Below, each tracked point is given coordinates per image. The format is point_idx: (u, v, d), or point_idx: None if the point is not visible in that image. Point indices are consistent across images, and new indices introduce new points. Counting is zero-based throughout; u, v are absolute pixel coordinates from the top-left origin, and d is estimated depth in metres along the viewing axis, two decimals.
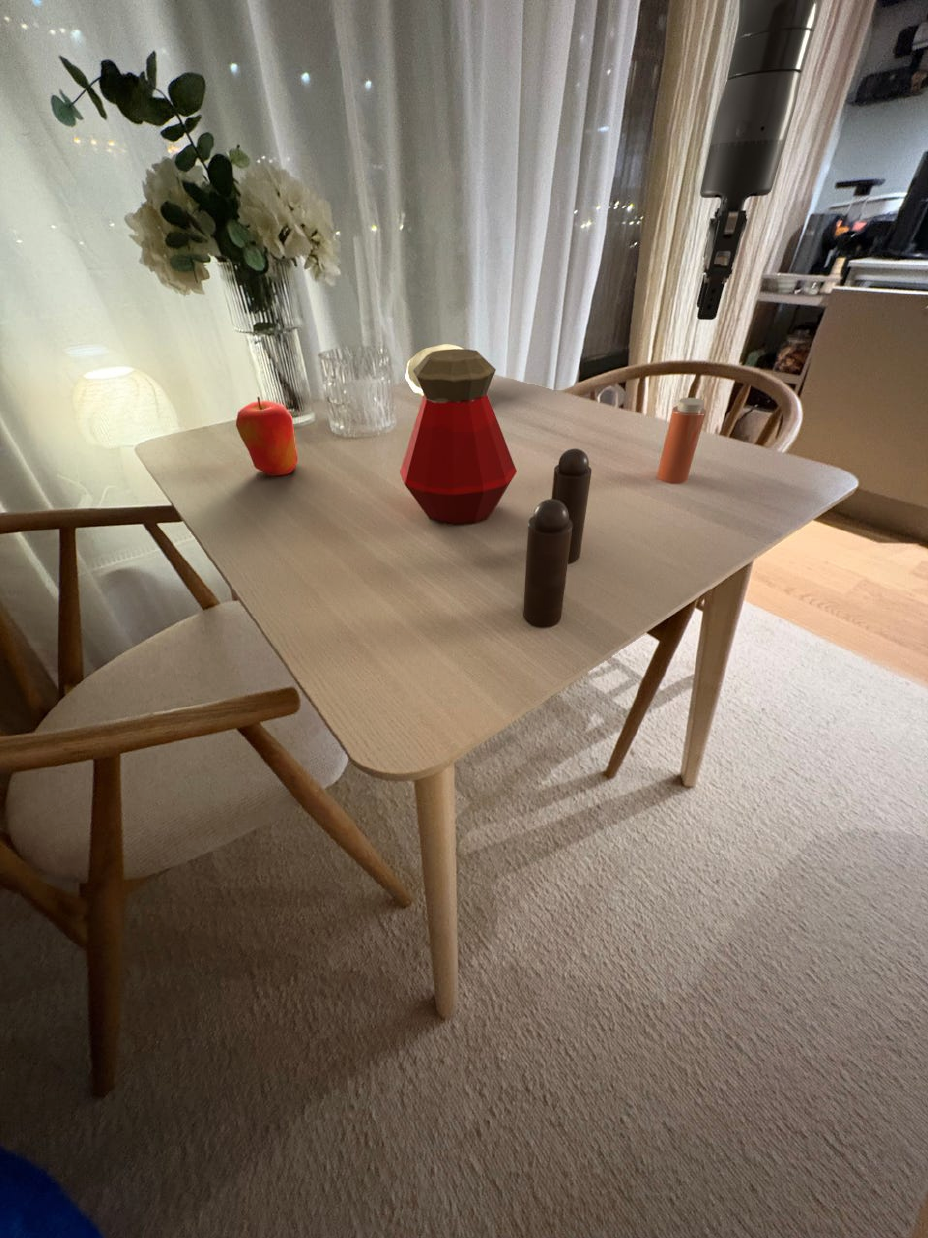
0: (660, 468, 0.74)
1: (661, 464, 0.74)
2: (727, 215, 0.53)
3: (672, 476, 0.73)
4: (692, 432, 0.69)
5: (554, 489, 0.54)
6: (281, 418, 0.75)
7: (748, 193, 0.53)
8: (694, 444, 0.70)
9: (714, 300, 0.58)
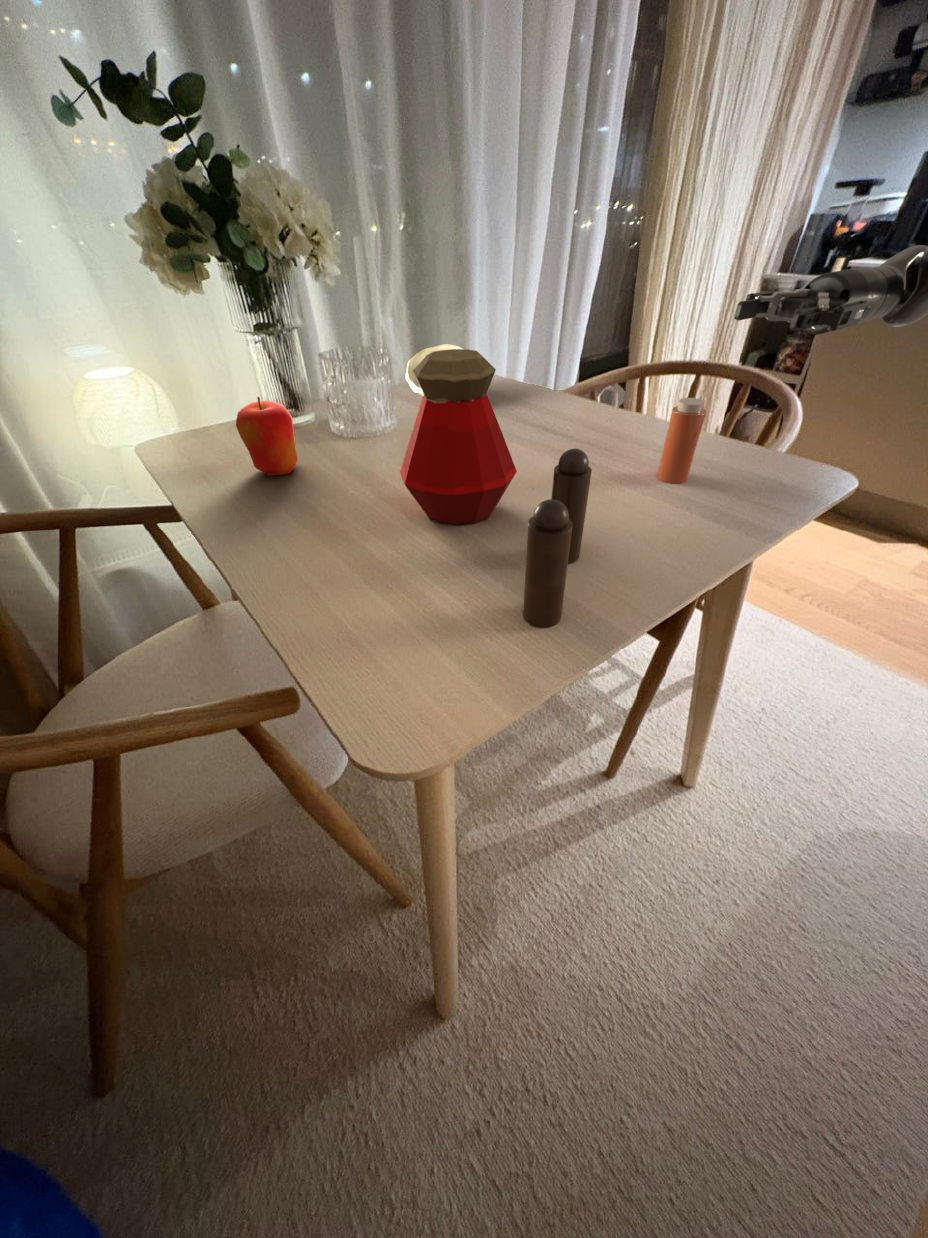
0: (660, 468, 0.74)
1: (661, 464, 0.74)
2: None
3: (672, 476, 0.73)
4: (692, 432, 0.69)
5: (554, 489, 0.54)
6: (281, 418, 0.75)
7: None
8: (694, 444, 0.70)
9: None
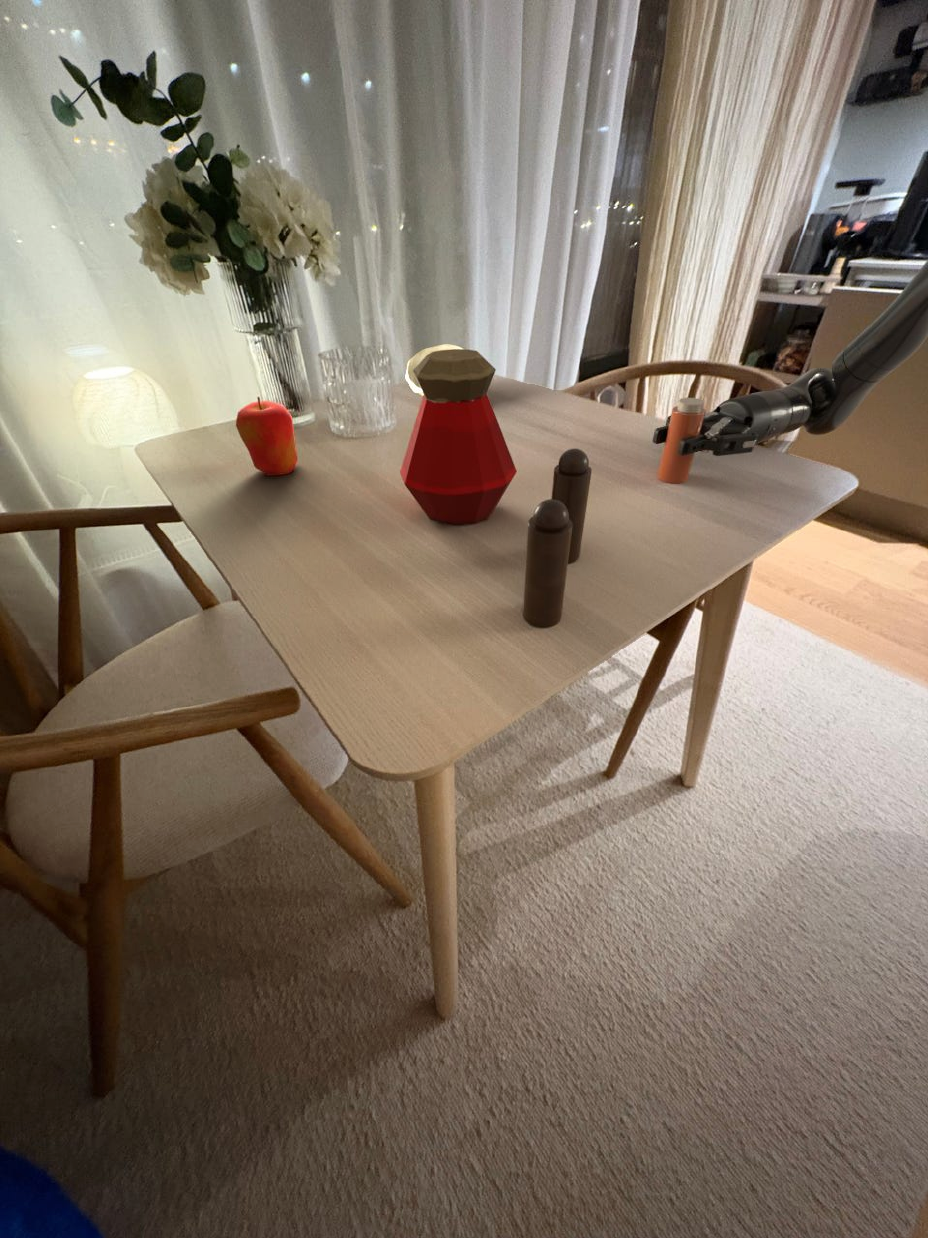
0: (660, 468, 0.74)
1: (661, 464, 0.74)
2: None
3: (673, 476, 0.73)
4: (691, 432, 0.69)
5: (554, 489, 0.54)
6: (281, 418, 0.75)
7: None
8: None
9: None
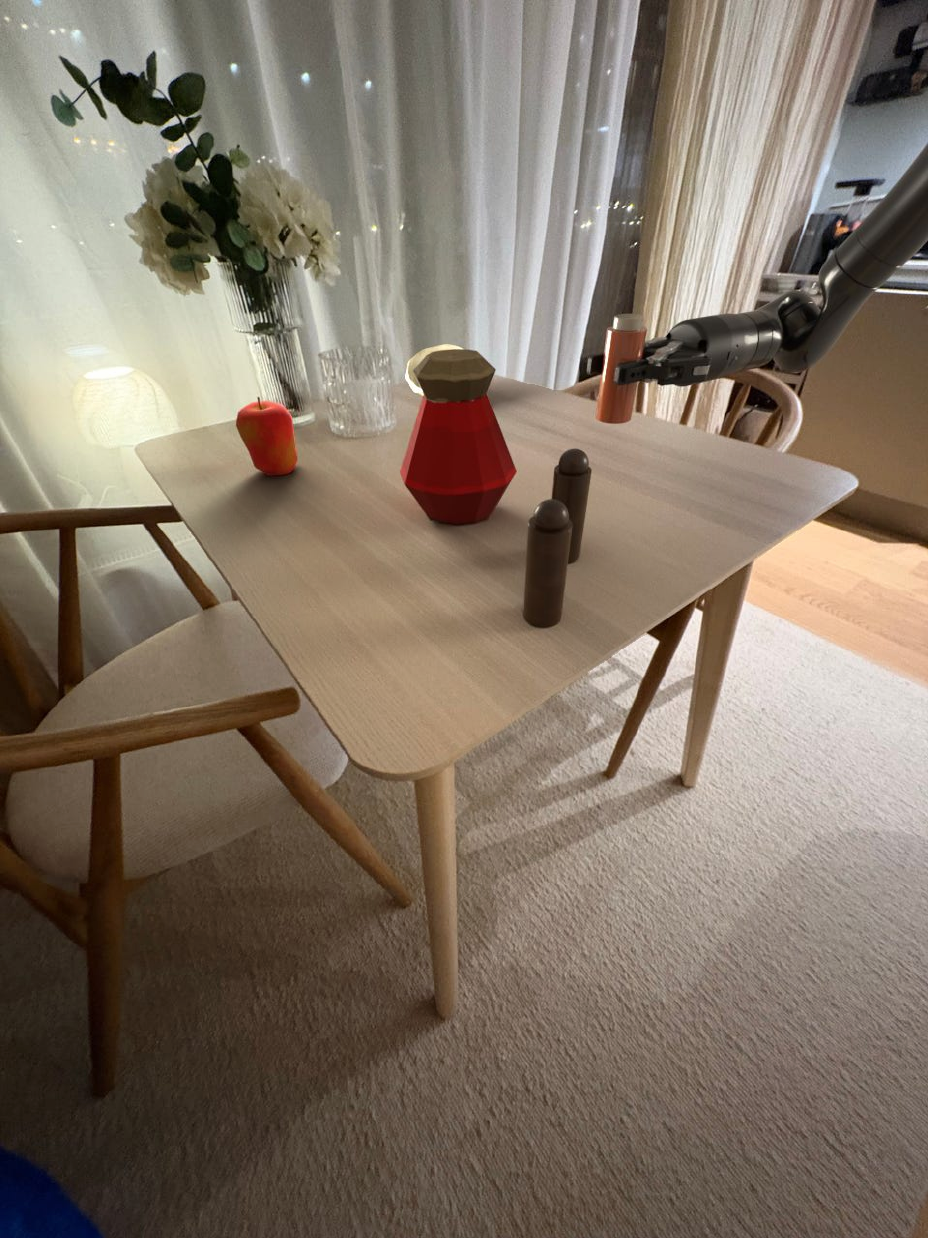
0: (598, 406, 0.62)
1: (598, 401, 0.61)
2: None
3: (611, 415, 0.60)
4: (630, 356, 0.56)
5: (554, 489, 0.54)
6: (281, 418, 0.75)
7: None
8: None
9: None
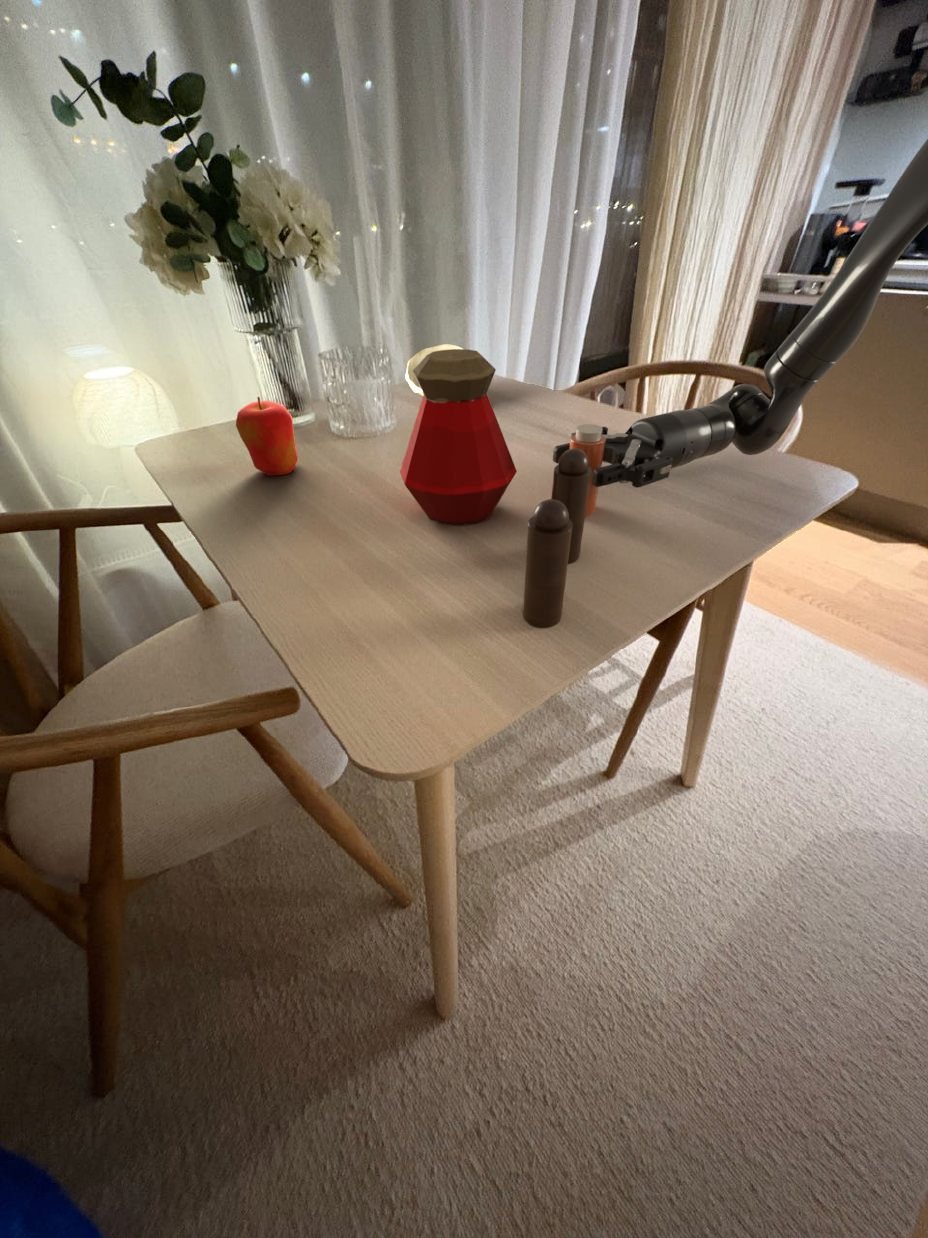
0: None
1: None
2: None
3: None
4: (590, 463, 0.62)
5: (554, 489, 0.54)
6: (281, 418, 0.75)
7: None
8: None
9: None
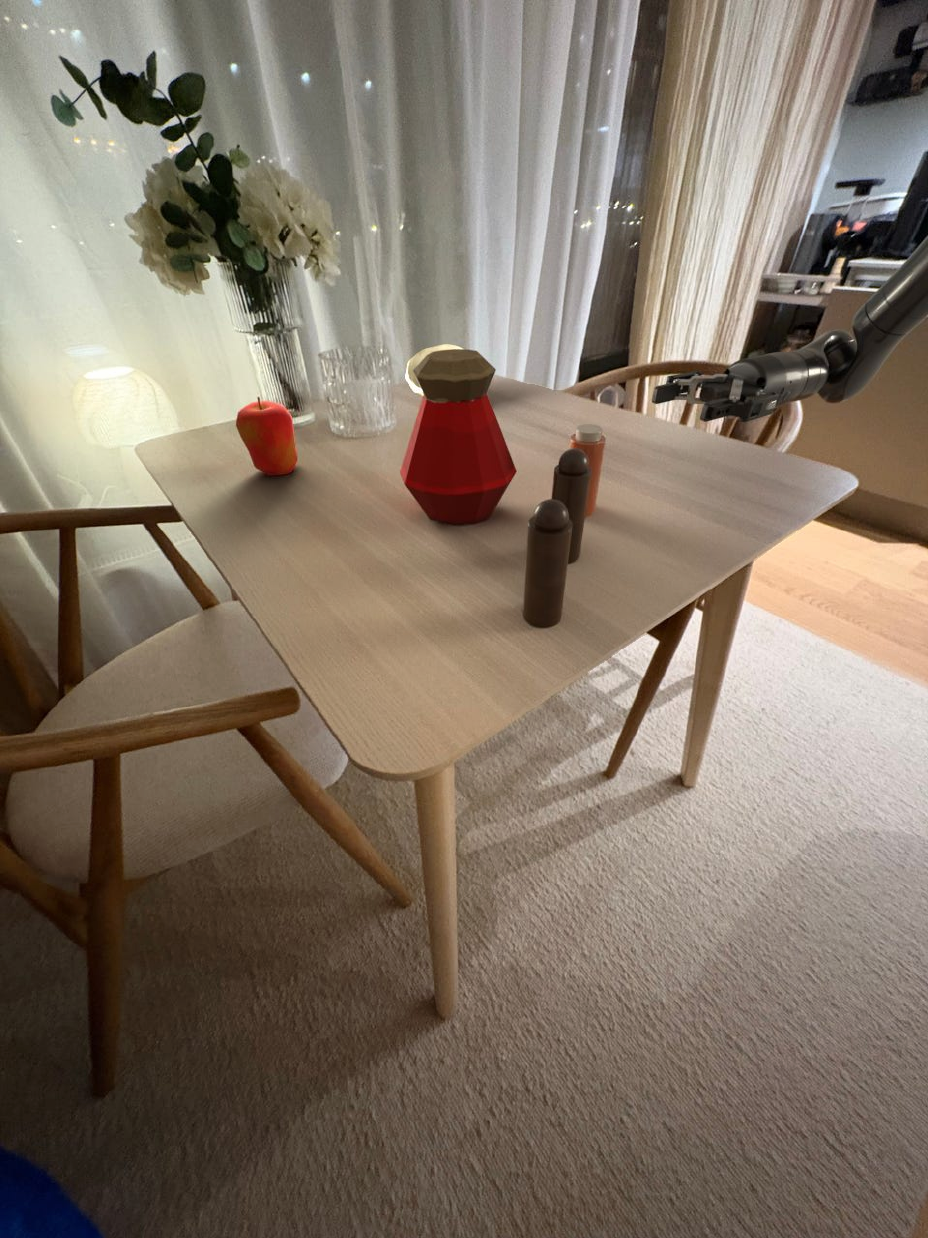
0: None
1: None
2: None
3: None
4: (590, 463, 0.62)
5: (554, 489, 0.54)
6: (281, 418, 0.75)
7: (722, 374, 0.70)
8: (596, 475, 0.64)
9: None
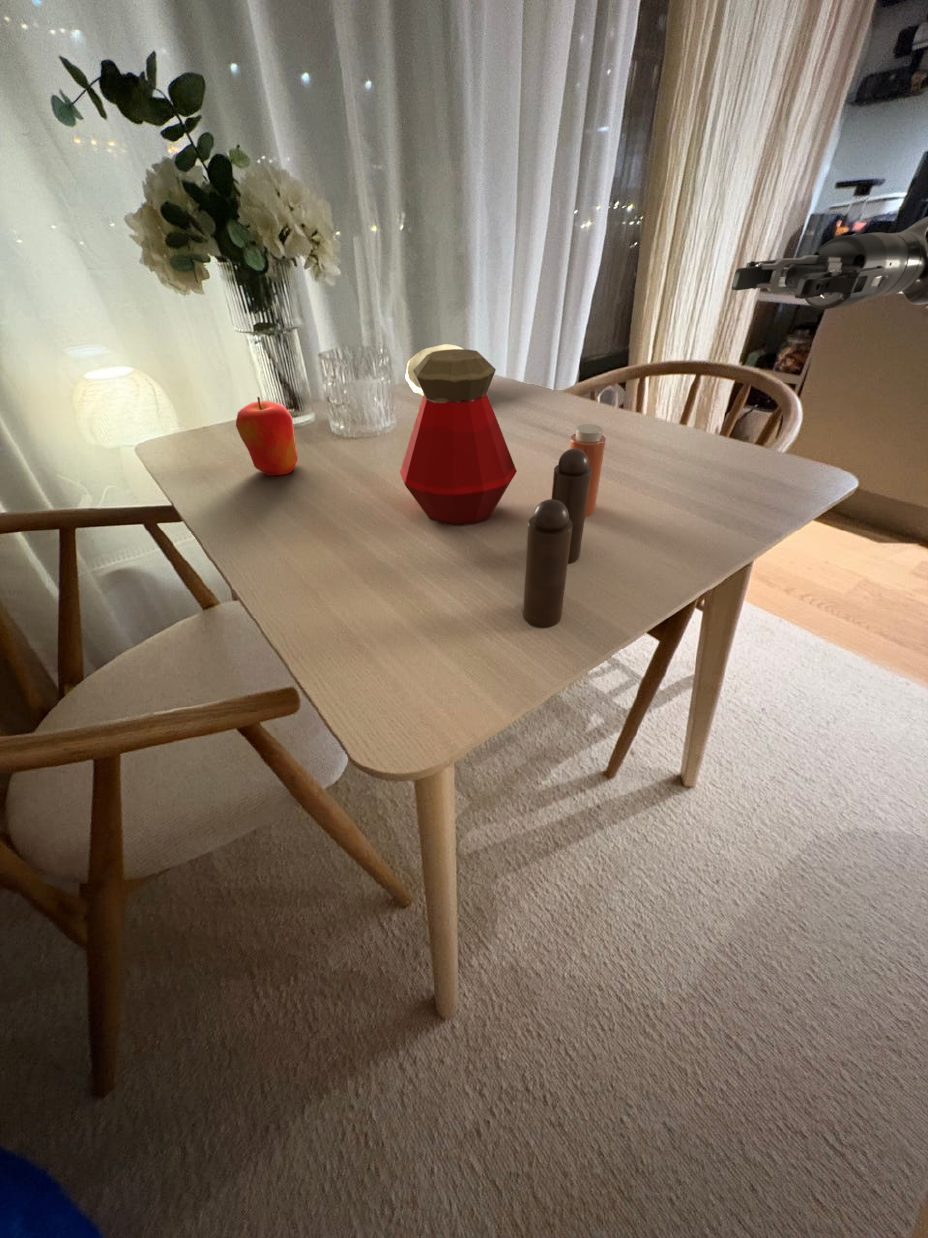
0: None
1: None
2: None
3: None
4: (590, 463, 0.62)
5: (554, 489, 0.54)
6: (281, 418, 0.75)
7: None
8: (596, 475, 0.64)
9: None
